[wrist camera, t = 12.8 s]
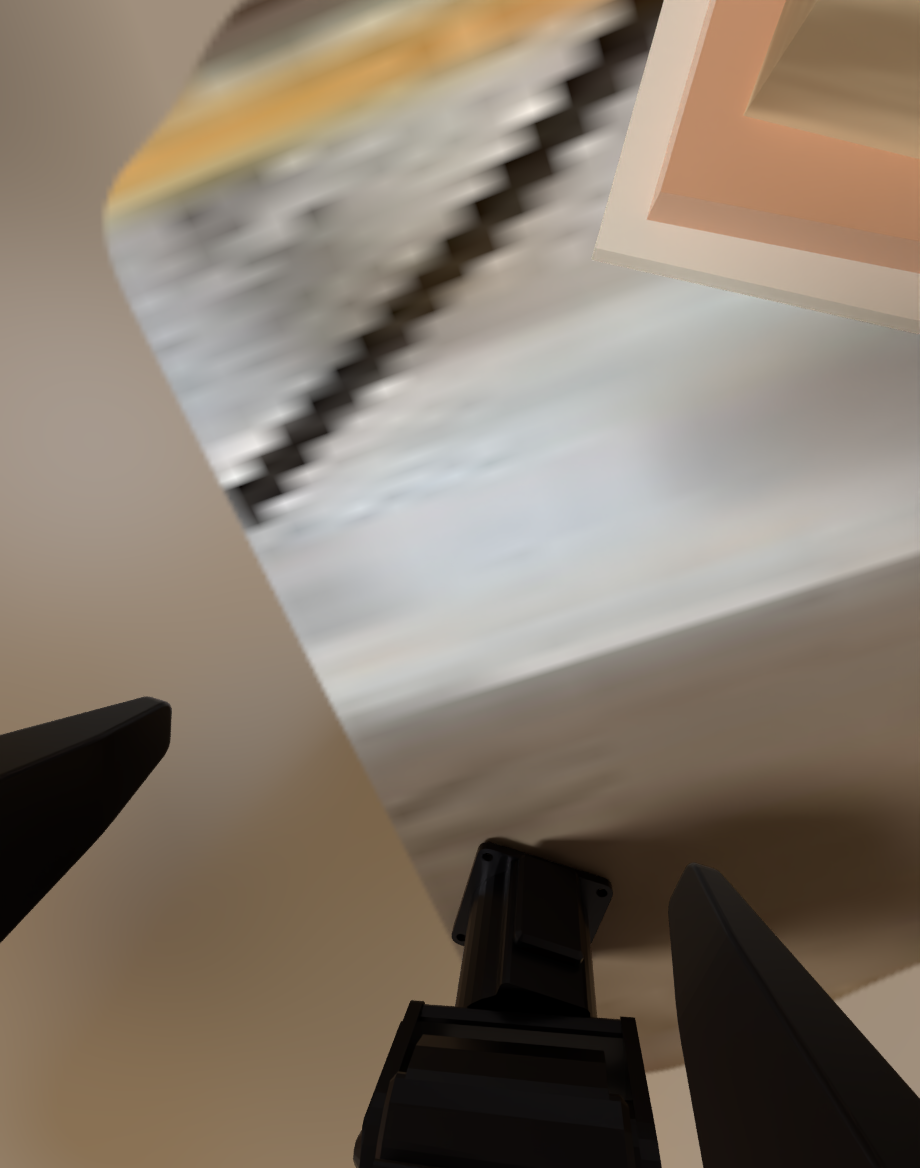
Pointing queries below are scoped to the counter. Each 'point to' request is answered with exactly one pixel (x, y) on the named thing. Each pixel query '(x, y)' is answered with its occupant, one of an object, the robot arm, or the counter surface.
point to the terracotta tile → (777, 161)
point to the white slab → (717, 256)
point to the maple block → (845, 72)
